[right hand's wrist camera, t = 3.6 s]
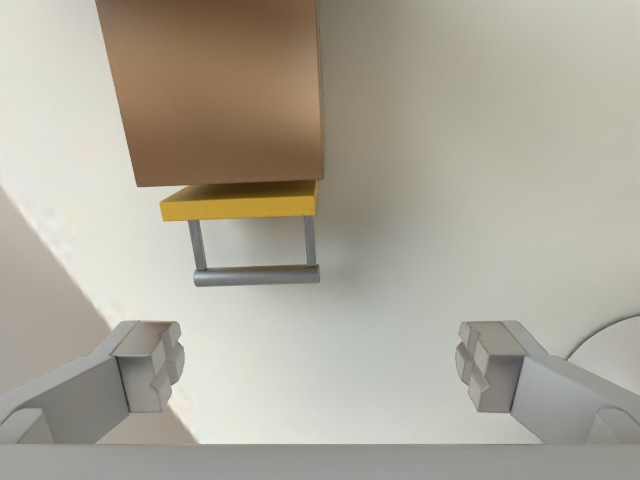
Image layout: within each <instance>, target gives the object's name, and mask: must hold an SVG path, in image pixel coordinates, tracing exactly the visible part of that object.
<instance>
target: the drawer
mask: <svg viewBox="0 0 640 480" xmlns="http://www.w3.org/2000/svg"><path fill="white" fill-rule="evenodd" d="M317 196H318V179H317V180H294V181H270V182H247V183H224V184H201V185H189V186H187V187H186V188H184V189H182V190H180V191H179V192H177V193H175V194H173V195H172V196H170V197H168V198H166V199H164V200H163V201H161V202H160V208H161V213H162V218H163V221H183V220H188V224H189V229H190V235H191V240H192V246H193V251H194V257H195V262H196V268H197V269H196V270H195V272H194V283H195V285H196V286H197V287H211V286H241V285H270V284H300V283H319V282H320V272H319V264H316V252H315V234H314V216H313V215H315V214H316V205H317ZM283 216H304V219H305V235H306V250H307V264H306V265H278V266H250V267H221V268H207V264H206V258H205V252H204V246H203V240H202V234H201V228H200V223H199V220H208V219H233V218H258V217H283Z"/></svg>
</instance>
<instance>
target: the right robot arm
mask: <svg viewBox="0 0 640 480" xmlns="http://www.w3.org/2000/svg"><path fill="white" fill-rule="evenodd" d="M180 336H181V330H180V325H179V324H178V323H177V322H176V321H140V320H139V321H122V322H120V323H119V324H118V325H117V327H116V328H115V329H114V330H113V331H112V332H111V333H110V334H109V335H108V336H107V337H106V338H105V340H104V341H103V342H102V343H101V344H100V345H99V346H98V347H97V348H96V349H95V350H94V351H93V353H92V354H91V355H90V356H82V357H80V358H78V359H76V360H74V361H72V362H70V363H67V364H65V365H63V366H61V367H59V368H57V369H55V370H53V371H51V372H49V373H47V374H45V375H42V376H40V377H38V378H36V379H34V380H32V381H30V382H28V383H26V384H24V385H22V386H20V387H18V388H15V389H13V390H11V391H9V392H7V393H5V394H3V395H1V396H0V480H640V316H636V317H632V318H629V319H626V320H623V321H620V322H617V323H615V324H613V325H611V326H608V327H607V328H605V329H603V330H601V331H600V332H598V333H596V334H595V335H593V336H592V337H590V338H589V339H588V340H587V341H585V342H584V343H583V344H582V345H581V346H580V347H579V348H578V349H577V350H576V351H575V352H574V353H573V354H572V355H571V357H570V358H569V359H568V360H567V361H566V360H564V359H562V358H560V357H558V356H550V355H549V353H548V352H547V351H546V350H545V349H544V348H543V347H542V346H541V345H540V344H539V343H538V342H537V341H536V339H535V338H534V337H533V336H532V335H531V334H530V333H529V332H528V331H527V330H526V329H525V328H524V327H523V325H522V324H521V323H520V322H518V321H515V320H510V321H481V322H462V324H461V326H460V329H459V336H460V337H461V339H462V342H461V343H460V344H459V345H458V346H457V348H456V356H455V359H456V368H457V371H458V374H459V377H460V379H461V381H462V382H464V383H465V384H467V385H468V386H469V389H468V394H469V396H470V398H471V400H472V402H473V404H474V406H475V408H476V410H477V411H478V412H489V413H511V414H510V415H511V416H513V417H514V418H515V419H516V420H518V421H519V422H520V423H521V424H522V425H524V426H525V427H526V428H527V429H529V430H530V431H531V432H532V433H533V434H535V435H536V436H537V437H538V438H539V439H541V440H542V441H543V442H544V443H545V444H95V443H96V442H97V441H98V440H99V439H101V438H102V437H103V436H104V435H106V434H107V433H108V432H109V431H110V430H112V429H113V428H114V427H115V426H116V425H118V424H119V423H120V422H121V421H123V420H124V419H125V418H126V417H127V416H129V413H150V412H162V411H163V410H164V408H165V406H166V404H167V402H168V400H169V398H170V396H171V394H172V389H171V386H172V385H173V384H175V383H176V382H178V381H179V379H180V376H181V374H182V371H183V367H184V348H183V346H182V345H181V344H180V343H179V342H178V339H179V337H180Z"/></svg>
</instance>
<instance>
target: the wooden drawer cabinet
mask: <svg viewBox="0 0 640 480" xmlns="http://www.w3.org/2000/svg"><path fill="white" fill-rule="evenodd" d="M95 2H96V6H97V11H98V15H99V20H100V24H101V28H102V33H103V37H104V42H105V46H106V51H107V55H108V60H109V64H110V68H111V73H112V77H113V82H114V86H115V91H116V95H117V100H118V104H119V108H120V113H121V117H122V122H123V126H124V131H125V135H126V140H127V144H128V149H129V153H130V157H131V162H132V166H133V171H134V175H135V180H136V184H137V187H155V186H178V185H201V184H224V183H247V182H270V181H294V180H317V179H324V164H325V151H324V127H323V103H322V79H321V55H320V31H319V6H318V0H95Z"/></svg>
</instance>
